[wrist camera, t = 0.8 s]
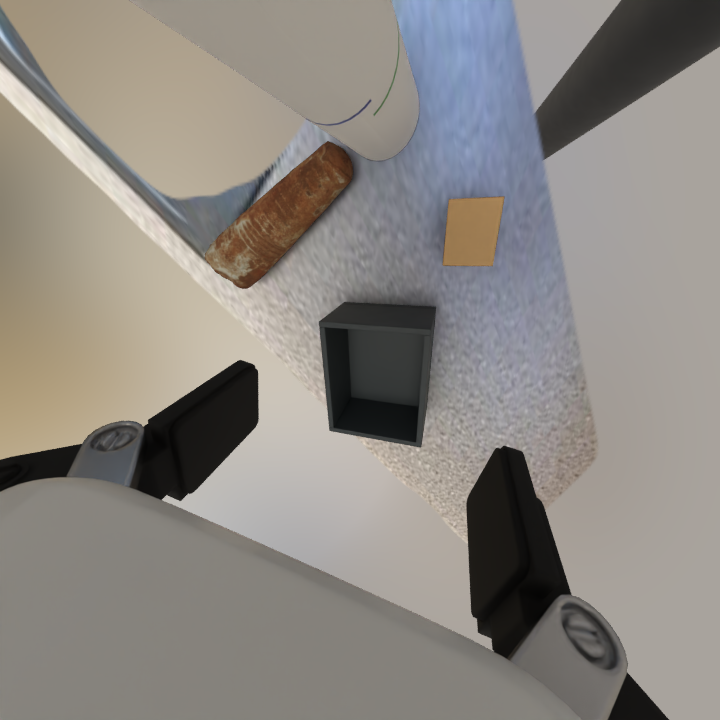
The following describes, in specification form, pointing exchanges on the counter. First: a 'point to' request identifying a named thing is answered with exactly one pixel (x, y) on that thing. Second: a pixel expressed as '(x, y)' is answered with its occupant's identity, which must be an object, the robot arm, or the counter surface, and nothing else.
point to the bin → (378, 369)
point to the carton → (472, 231)
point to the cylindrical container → (313, 61)
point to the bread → (280, 217)
